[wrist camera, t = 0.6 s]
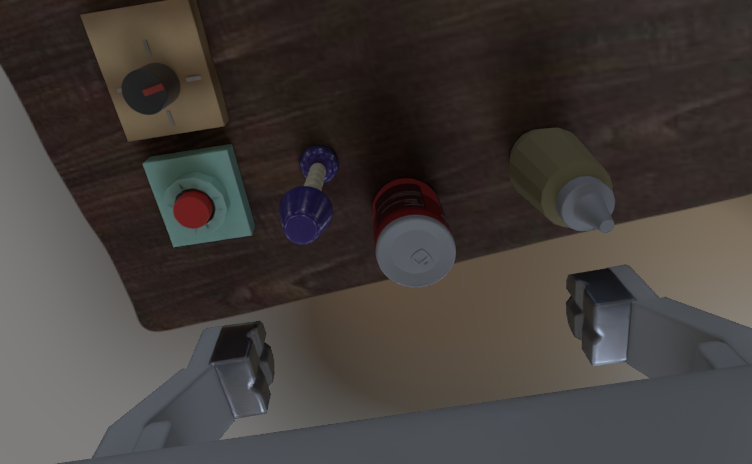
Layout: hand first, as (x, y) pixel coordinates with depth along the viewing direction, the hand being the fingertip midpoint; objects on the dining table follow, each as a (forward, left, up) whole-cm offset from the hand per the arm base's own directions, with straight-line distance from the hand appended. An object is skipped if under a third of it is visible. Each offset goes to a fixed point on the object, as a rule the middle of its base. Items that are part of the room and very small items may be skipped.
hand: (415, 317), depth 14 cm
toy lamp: (+10, -7, -43) cm, 45 cm away
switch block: (+11, -20, -43) cm, 49 cm away
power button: (+11, -20, -39) cm, 46 cm away
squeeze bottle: (+13, +17, -43) cm, 48 cm away
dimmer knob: (-1, -20, -40) cm, 45 cm away
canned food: (+17, +2, -43) cm, 46 cm away
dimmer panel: (-2, -20, -43) cm, 48 cm away
